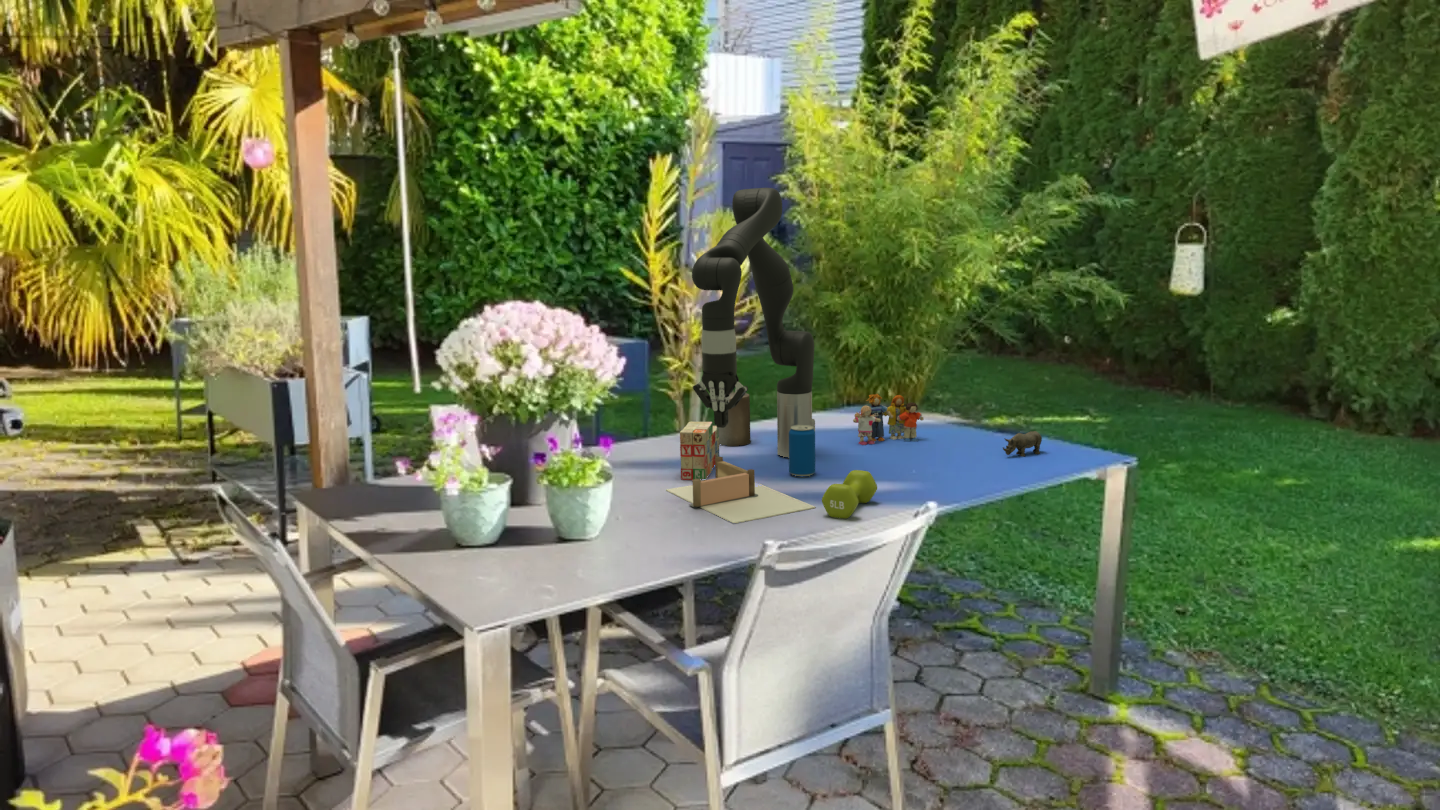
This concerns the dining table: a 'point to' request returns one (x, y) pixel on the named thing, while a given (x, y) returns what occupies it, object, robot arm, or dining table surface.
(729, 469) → the wooden fence panel
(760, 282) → the robot arm
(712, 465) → the stack of blocks
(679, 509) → the dining table surface
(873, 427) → the doll family
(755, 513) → the card
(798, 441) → the beverage can
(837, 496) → the dumbbell
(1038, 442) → the rhino figurine
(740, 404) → the pillar candle
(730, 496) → the gate
